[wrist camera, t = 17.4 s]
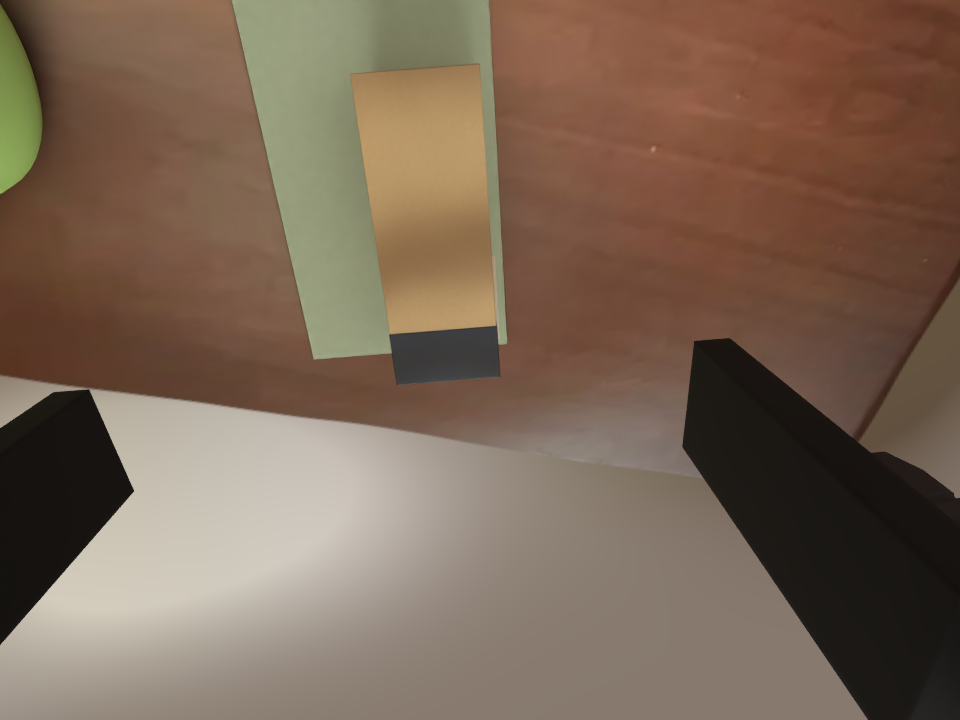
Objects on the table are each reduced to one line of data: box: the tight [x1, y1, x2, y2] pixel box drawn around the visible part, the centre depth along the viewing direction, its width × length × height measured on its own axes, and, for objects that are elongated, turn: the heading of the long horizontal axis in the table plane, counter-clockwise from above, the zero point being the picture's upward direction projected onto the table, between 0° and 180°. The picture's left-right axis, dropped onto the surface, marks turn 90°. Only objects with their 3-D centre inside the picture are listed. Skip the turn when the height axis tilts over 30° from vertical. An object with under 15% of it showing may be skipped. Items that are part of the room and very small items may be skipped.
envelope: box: [232, 0, 507, 359], centre depth 32 cm, size 24×14×1 cm, turn 4°
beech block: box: [350, 64, 500, 385], centre depth 30 cm, size 16×6×7 cm, turn 4°
